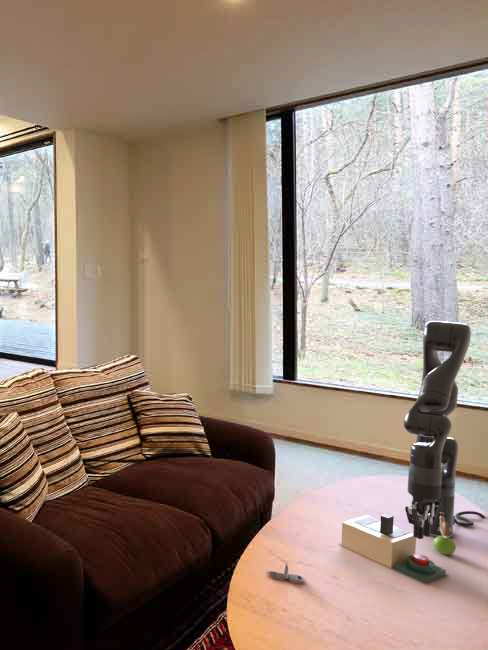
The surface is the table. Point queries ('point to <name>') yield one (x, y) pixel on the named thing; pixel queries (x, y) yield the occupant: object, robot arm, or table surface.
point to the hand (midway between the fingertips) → (421, 536)
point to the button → (420, 559)
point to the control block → (420, 570)
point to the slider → (386, 524)
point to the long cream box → (377, 541)
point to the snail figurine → (444, 539)
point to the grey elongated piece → (290, 576)
